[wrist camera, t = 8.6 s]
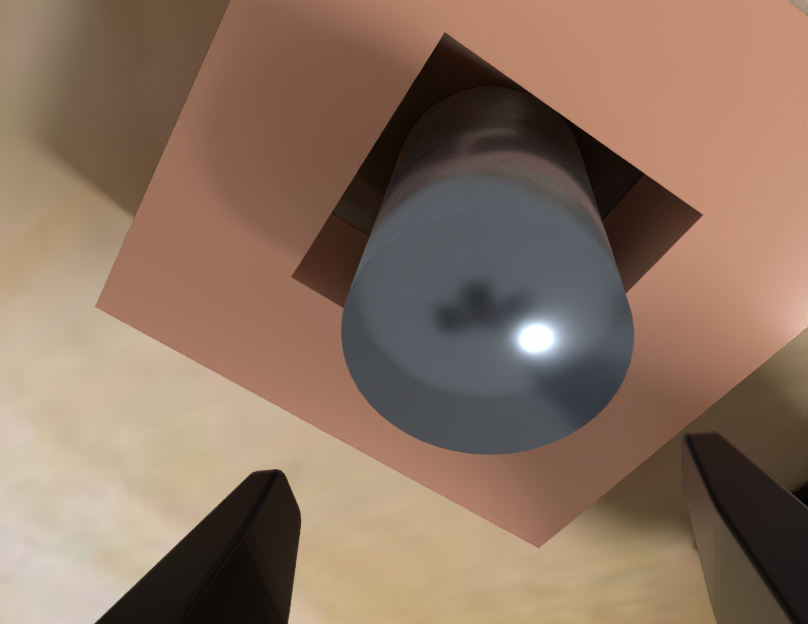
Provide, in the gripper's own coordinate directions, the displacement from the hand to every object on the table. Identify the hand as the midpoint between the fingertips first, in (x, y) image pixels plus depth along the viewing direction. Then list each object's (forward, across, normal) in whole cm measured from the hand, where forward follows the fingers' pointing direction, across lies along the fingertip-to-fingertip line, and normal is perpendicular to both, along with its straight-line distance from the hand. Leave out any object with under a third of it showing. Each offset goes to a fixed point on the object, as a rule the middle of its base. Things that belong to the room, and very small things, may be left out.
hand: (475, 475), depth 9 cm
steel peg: (+11, 0, 0) cm, 11 cm away
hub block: (+11, 0, 0) cm, 11 cm away
